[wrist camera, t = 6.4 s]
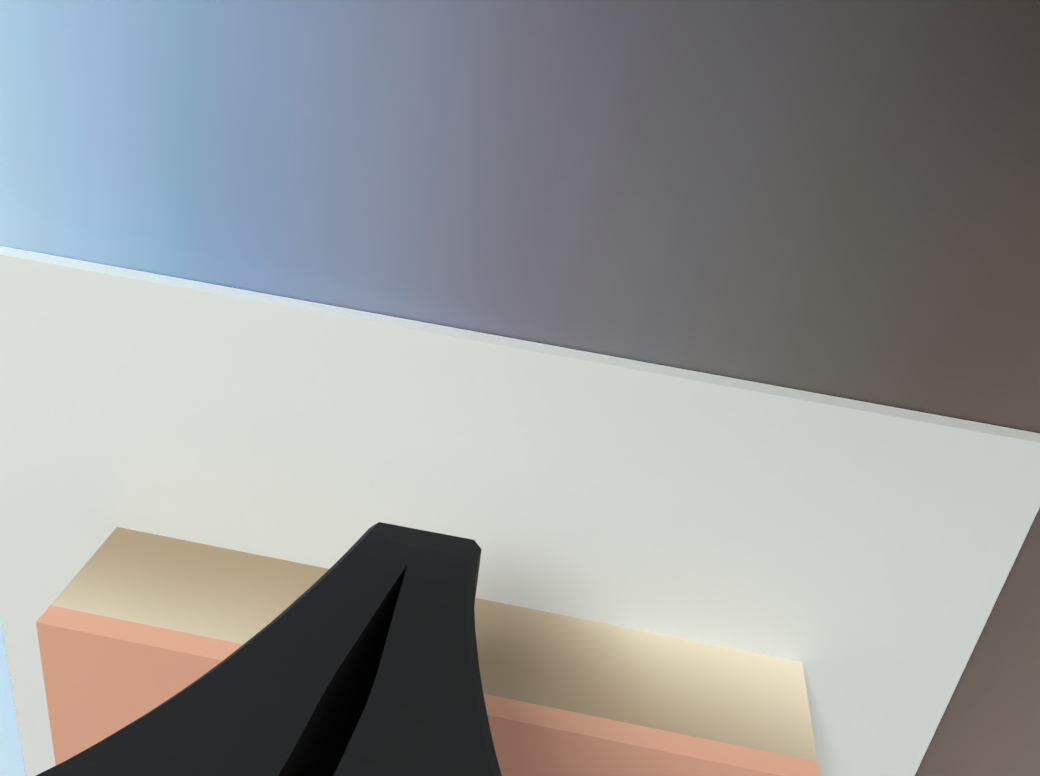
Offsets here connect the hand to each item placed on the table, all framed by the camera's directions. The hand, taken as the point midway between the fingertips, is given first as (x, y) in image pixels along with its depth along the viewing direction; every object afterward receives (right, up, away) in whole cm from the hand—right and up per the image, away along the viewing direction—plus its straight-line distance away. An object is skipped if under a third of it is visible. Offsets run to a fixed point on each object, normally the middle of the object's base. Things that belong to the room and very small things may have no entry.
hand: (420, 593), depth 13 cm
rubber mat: (0, -3, +6) cm, 7 cm away
